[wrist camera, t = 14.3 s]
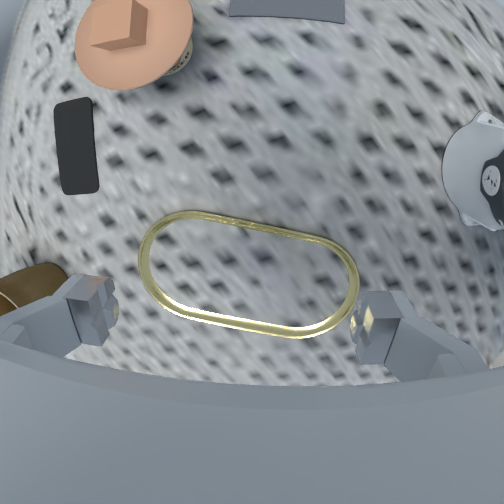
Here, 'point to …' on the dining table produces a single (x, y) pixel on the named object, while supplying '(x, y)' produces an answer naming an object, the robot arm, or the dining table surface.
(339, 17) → the mat
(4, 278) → the plant pot
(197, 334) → the dining table surface
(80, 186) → the phone
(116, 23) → the lid
